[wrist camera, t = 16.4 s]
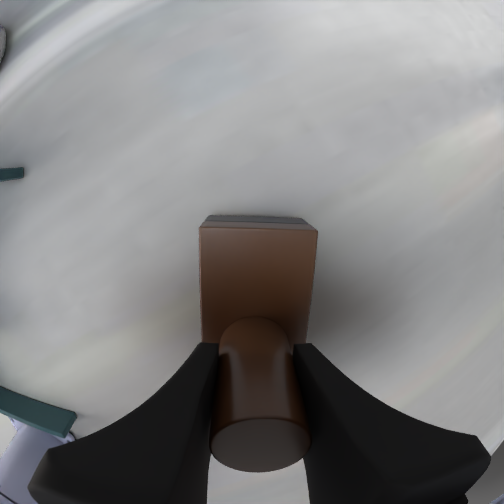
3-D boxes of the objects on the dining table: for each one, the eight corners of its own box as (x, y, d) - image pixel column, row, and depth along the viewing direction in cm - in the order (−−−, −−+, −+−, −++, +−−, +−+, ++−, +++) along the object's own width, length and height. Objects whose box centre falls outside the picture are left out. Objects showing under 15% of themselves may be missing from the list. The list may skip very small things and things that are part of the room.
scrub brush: (285, 386, 15) (309, 508, 7) (211, 385, 15) (197, 510, 7) (303, 218, 12) (382, 283, 5) (208, 214, 12) (156, 279, 5)
